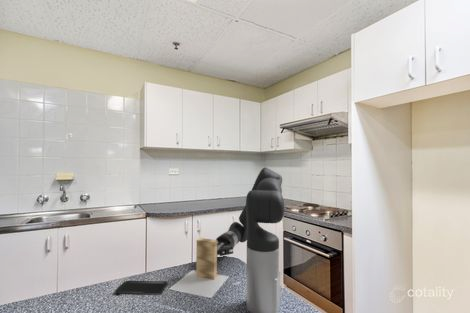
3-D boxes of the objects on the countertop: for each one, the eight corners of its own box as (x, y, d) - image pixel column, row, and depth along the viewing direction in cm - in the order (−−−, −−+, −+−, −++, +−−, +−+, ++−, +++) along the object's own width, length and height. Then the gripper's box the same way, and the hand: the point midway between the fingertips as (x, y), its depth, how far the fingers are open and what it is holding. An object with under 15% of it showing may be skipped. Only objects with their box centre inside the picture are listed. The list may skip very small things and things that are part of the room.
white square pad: (229, 277, 88) (229, 276, 88) (211, 299, 74) (211, 298, 74) (192, 271, 93) (192, 269, 93) (168, 290, 79) (168, 289, 79)
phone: (125, 280, 83) (168, 281, 83) (125, 284, 83) (168, 284, 83) (112, 293, 76) (160, 293, 75) (112, 296, 76) (160, 297, 75)
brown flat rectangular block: (216, 276, 87) (217, 240, 88) (214, 279, 85) (214, 242, 86) (199, 273, 90) (199, 238, 90) (196, 276, 88) (196, 239, 88)
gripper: (212, 231, 108) (193, 243, 92) (241, 234, 104) (226, 247, 88) (212, 248, 108) (193, 263, 92) (241, 252, 104) (225, 269, 87)
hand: (209, 255), depth 90 cm, fingers closed
